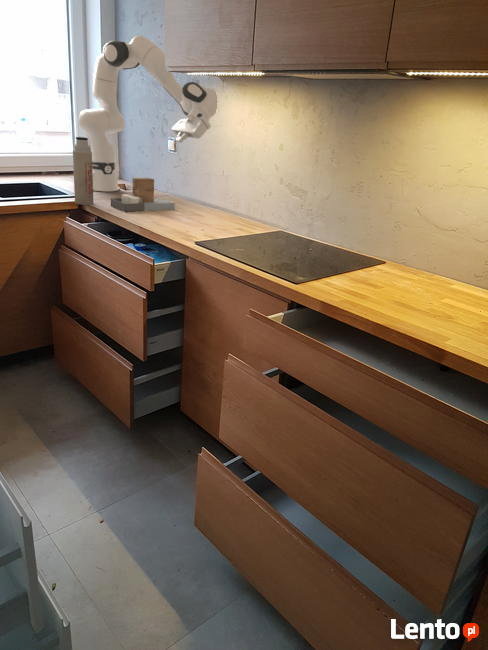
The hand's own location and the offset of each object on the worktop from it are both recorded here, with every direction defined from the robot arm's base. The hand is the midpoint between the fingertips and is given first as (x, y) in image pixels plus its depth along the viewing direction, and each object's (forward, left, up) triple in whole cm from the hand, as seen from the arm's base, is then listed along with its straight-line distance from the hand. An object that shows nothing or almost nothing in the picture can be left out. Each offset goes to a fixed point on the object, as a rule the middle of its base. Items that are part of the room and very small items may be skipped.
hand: (177, 141), depth 224 cm
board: (0, -12, -29) cm, 32 cm away
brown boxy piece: (0, -17, -26) cm, 32 cm away
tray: (0, -25, -29) cm, 39 cm away
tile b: (+3, -22, -26) cm, 35 cm away
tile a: (-3, -23, -26) cm, 35 cm away
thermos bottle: (-16, -38, -30) cm, 51 cm away
